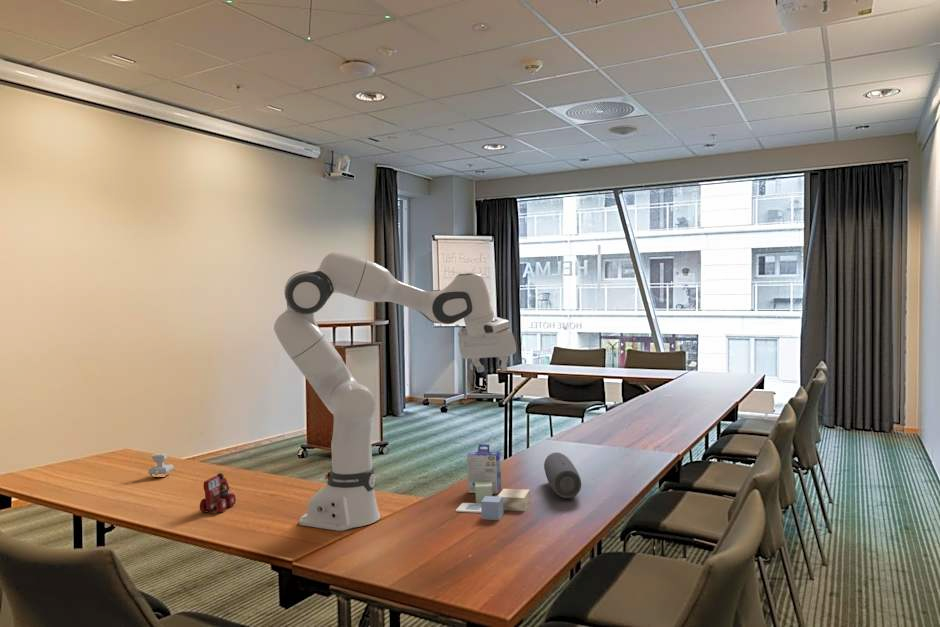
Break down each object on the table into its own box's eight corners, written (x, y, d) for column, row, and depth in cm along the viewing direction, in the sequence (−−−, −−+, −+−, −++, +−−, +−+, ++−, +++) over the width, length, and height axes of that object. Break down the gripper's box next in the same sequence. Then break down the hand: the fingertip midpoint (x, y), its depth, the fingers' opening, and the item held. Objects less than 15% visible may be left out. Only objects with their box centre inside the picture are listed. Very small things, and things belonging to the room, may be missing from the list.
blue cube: (481, 519, 177) (480, 501, 177) (486, 513, 182) (485, 496, 182) (499, 520, 176) (498, 502, 176) (503, 514, 181) (502, 496, 181)
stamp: (165, 479, 236) (164, 456, 236) (146, 480, 235) (145, 457, 235) (175, 473, 245) (174, 450, 245) (157, 474, 244) (156, 451, 244)
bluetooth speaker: (584, 501, 189) (582, 467, 188) (552, 503, 189) (551, 469, 188) (571, 480, 211) (570, 450, 211) (543, 481, 211) (541, 451, 211)
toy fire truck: (239, 502, 203) (237, 469, 203) (218, 516, 191) (216, 481, 190) (218, 502, 204) (217, 470, 204) (196, 516, 192) (194, 481, 191)
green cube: (475, 503, 192) (475, 486, 192) (475, 498, 197) (475, 482, 197) (492, 502, 192) (492, 486, 192) (492, 497, 197) (491, 481, 197)
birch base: (497, 510, 185) (496, 496, 185) (504, 501, 193) (503, 488, 193) (525, 512, 183) (524, 497, 183) (530, 503, 190) (529, 489, 190)
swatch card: (455, 511, 185) (455, 509, 185) (462, 504, 191) (462, 502, 191) (486, 513, 182) (486, 511, 182) (492, 505, 189) (491, 503, 189)
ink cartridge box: (502, 489, 205) (500, 443, 205) (498, 494, 200) (496, 447, 199) (472, 488, 207) (470, 443, 207) (467, 493, 202) (465, 447, 202)
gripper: (449, 331, 194) (461, 375, 196) (499, 326, 179) (510, 373, 181) (464, 326, 198) (475, 369, 200) (513, 320, 184) (524, 366, 185)
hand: (492, 371), depth 190 cm, fingers open, 8 cm apart
